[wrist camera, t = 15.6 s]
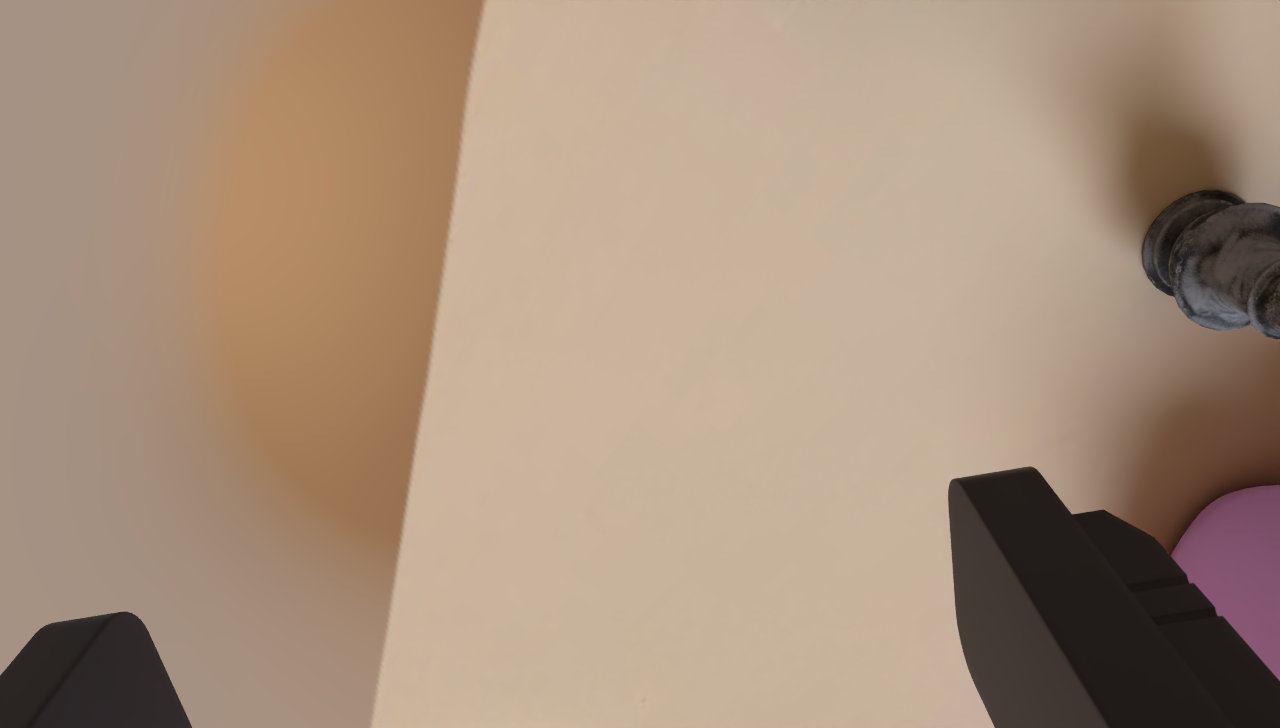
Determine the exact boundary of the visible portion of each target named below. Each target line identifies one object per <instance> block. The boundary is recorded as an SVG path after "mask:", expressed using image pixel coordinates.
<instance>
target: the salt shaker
mask: <svg viewBox="0 0 1280 728" xmlns="http://www.w3.org/2000/svg"><path fill="white" fill-rule="evenodd" d="M1143 266H1144V269H1145V271H1146V274H1147V276H1148V278H1149V279H1150V281H1151V282H1152V283H1153V284H1154V285H1155V287H1156V288H1158V289H1159V290H1161V291H1163V292H1164V293H1166V294H1167V295H1170V296H1173V297H1175V299H1176V302H1177V304H1178V307H1179V308H1180V309H1181V310H1182V311H1183V312H1184V314H1185V315H1186V316H1187V317H1188V318H1189V319H1191V320H1192V321H1194V322H1196V323H1197V324H1199V325H1201V326H1202V327H1206V328H1210V329H1214V330H1238V329H1242V328H1246V327H1250V326H1254V328H1255V329H1256V330H1257V331H1258V332H1260V333H1261V334H1263V335H1265V336H1266V337H1270V338H1273V339H1280V207H1277V206H1274V205H1270V204H1266V203H1245V202H1244V201H1243V200H1241V199H1239V198H1238V197H1236V196H1235V195H1233V194H1230V193H1226V192H1223V191H1219V190H1213V191H1200V192H1196V193H1193V194H1189V195H1187V196H1185V197H1183V198H1181V199H1179V200H1177V201H1175V202H1174V203H1172V204H1171V205H1170V206H1169V207H1168V208H1166V209H1165V210H1164V211H1163V212H1162V213H1161V214H1160V215H1159V216H1158V218H1157V219H1156V220H1155V221H1154V223H1153V224H1152V225H1151V228H1150V230H1149V232H1148V234H1147V236H1146V238H1145V243H1144V248H1143Z"/></svg>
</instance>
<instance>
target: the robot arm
mask: <svg viewBox="0 0 1280 728" xmlns="http://www.w3.org/2000/svg"><path fill="white" fill-rule="evenodd" d="M948 504H949V519H950V534H951V549H952V563H953V578H954V592H955V607H956V618H957V625H958V630H959V636H960V640H961V645H962V649H963V652H964V656H965V659H966V663H967V666H968V669H969V671H970V674H971V677H972V679H973V681H974V684H975V686H976V688H977V690H978V692H979V694H980V697H981V699H982V701H983V703H984V705H985V707H986V709H987V712H988V714H989V716H990V718H991V720H992V722H993V724H994V727H995V728H1280V681H1279V680H1278V678H1277V677H1276V676H1275V675H1274V674H1273V673H1272V672H1271V670H1270V669H1269V668H1268V667H1267V666H1266V665H1265V664H1264V662H1263V661H1262V660H1261V659H1260V658H1259V657H1258V656H1257V654H1256V653H1255V652H1254V651H1253V650H1252V649H1251V648H1250V646H1249V645H1248V644H1247V643H1246V642H1245V641H1244V640H1243V638H1242V637H1241V636H1240V635H1239V634H1238V633H1237V632H1236V630H1235V629H1234V628H1233V627H1232V626H1231V625H1230V624H1229V622H1228V621H1227V620H1226V619H1225V618H1224V617H1223V616H1218V615H1217V613H1216V610H1215V606H1214V605H1213V604H1212V603H1211V602H1210V601H1209V600H1208V598H1207V597H1206V596H1205V595H1204V594H1203V593H1202V591H1201V590H1200V589H1199V588H1198V587H1197V586H1196V585H1195V583H1189V581H1188V578H1187V574H1186V573H1185V572H1184V571H1183V570H1182V569H1181V567H1180V566H1179V565H1178V564H1177V563H1176V562H1175V561H1174V559H1173V558H1172V557H1171V556H1170V555H1169V554H1168V553H1167V551H1166V550H1165V549H1164V548H1163V547H1162V546H1161V545H1160V543H1159V542H1158V541H1157V540H1156V539H1155V538H1154V537H1152V536H1151V535H1149V534H1147V533H1145V532H1143V531H1141V530H1140V529H1138V528H1136V527H1134V526H1132V525H1131V524H1129V523H1127V522H1125V521H1123V520H1121V519H1120V518H1118V517H1116V516H1114V515H1112V514H1111V513H1109V512H1107V511H1105V510H1098V511H1092V512H1086V513H1079V514H1073V515H1072V514H1071V513H1070V512H1069V510H1068V509H1067V508H1066V506H1065V505H1064V504H1063V502H1062V501H1061V500H1060V499H1059V497H1058V496H1057V495H1056V493H1055V492H1054V491H1053V489H1052V488H1051V487H1050V486H1049V484H1048V483H1047V482H1046V480H1045V479H1044V478H1043V476H1042V475H1041V474H1040V473H1039V472H1038V470H1037V469H1035V468H1034V467H1024V468H1018V469H1012V470H1005V471H999V472H993V473H987V474H981V475H975V476H968V477H962V478H956V479H952V480H951V482H950V485H949V491H948ZM0 728H192V726H191V724H190V722H189V720H188V717H187V715H186V713H185V711H184V709H183V706H182V705H181V702H180V700H179V698H178V695H177V693H176V691H175V689H174V687H173V685H172V682H171V680H170V678H169V676H168V674H167V671H166V669H165V667H164V665H163V663H162V660H161V659H160V656H159V654H158V652H157V650H156V647H155V645H154V643H153V641H152V639H151V636H150V634H149V632H148V630H147V628H146V626H145V625H144V624H143V622H142V621H141V620H140V619H139V618H138V617H137V616H136V615H134V614H132V613H129V612H118V613H111V614H106V615H99V616H94V617H87V618H81V619H75V620H69V621H62V622H56V623H51V624H48V625H46V626H44V627H43V628H41V629H40V630H39V631H38V632H37V633H36V634H35V635H34V636H33V637H32V638H31V640H30V641H29V642H28V643H27V644H26V646H25V647H24V648H23V649H22V650H21V652H20V653H19V654H18V655H17V656H16V658H15V659H14V660H13V661H12V662H11V664H10V665H9V666H8V667H7V669H6V670H5V671H4V672H3V673H2V674H1V676H0Z"/></svg>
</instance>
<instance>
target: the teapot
mask: <svg viewBox="0 0 1280 728" xmlns="http://www.w3.org/2000/svg"><path fill="white" fill-rule="evenodd" d="M1171 557H1172V558H1173V559H1174V561H1175V562H1176V563H1177V564H1178V565H1179V566H1180V567H1181V569H1182V570H1183V571H1184V572H1185V573H1186V574H1187V578H1188V581H1189V583H1195V585H1196V586H1197V587H1198V588H1199V589H1200V590H1201V591H1202V593H1203V594H1204V595H1205V596H1206V597H1207V598H1208V600H1209V601H1210V602H1211V603H1212V604H1213V605H1214V606H1215V610H1216V613H1217V615H1218V616H1223V617H1224V618H1225V619H1226V620H1227V621H1228V622H1229V624H1230V625H1231V626H1232V627H1233V628H1234V629H1235V630H1236V632H1237V633H1238V634H1239V635H1240V636H1241V637H1242V638H1243V640H1244V641H1245V642H1246V643H1247V644H1248V645H1249V646H1250V648H1251V649H1252V650H1253V651H1254V652H1255V653H1256V654H1257V656H1258V657H1259V658H1260V659H1261V660H1262V661H1263V662H1264V664H1265V665H1266V666H1267V667H1268V668H1269V669H1270V670H1271V672H1272V673H1273V674H1274V675H1275V676H1276V677H1277V678H1278V680H1279V681H1280V485H1269V486H1259V487H1252V488H1246V489H1241V490H1238V491H1234V492H1231V493H1228V494H1226V495H1224V496H1222V497H1220V498H1218V499H1216V500H1215V501H1213V502H1212V503H1210V504H1209V505H1208V506H1207V507H1206V508H1205V509H1204V510H1202V511H1201V512H1200V514H1199V515H1198V516H1197V517H1196V518H1195V520H1194V521H1193V522H1192V523H1191V524H1190V526H1189V527H1188V529H1187V530H1186V532H1185V533H1184V535H1183V536H1182V538H1181V539H1180V541H1179V542H1178V544H1177V546H1176V547H1175V549H1174V551H1173V552H1172V554H1171Z"/></svg>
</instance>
